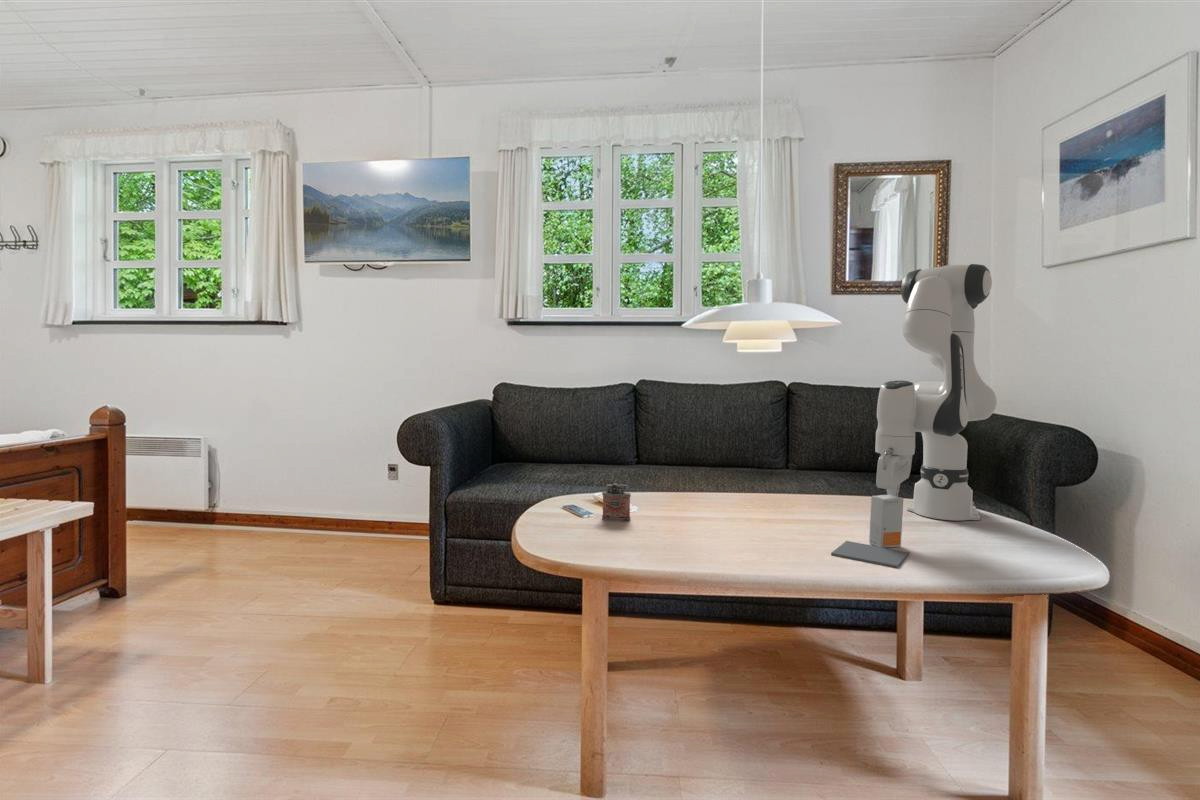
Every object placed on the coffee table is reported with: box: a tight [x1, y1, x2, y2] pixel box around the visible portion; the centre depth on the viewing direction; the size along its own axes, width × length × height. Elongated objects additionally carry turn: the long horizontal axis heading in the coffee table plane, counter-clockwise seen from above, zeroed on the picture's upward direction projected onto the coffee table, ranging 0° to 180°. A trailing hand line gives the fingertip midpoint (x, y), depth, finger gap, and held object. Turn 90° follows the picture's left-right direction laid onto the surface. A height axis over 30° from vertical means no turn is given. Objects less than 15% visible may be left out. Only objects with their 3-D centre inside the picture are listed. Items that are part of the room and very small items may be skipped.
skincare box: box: [868, 494, 904, 548], centre depth 148 cm, size 6×4×12 cm
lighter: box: [601, 483, 632, 522], centre depth 170 cm, size 8×3×10 cm, turn 73°
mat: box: [830, 540, 910, 569], centre depth 141 cm, size 12×14×1 cm
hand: (892, 501), depth 152 cm, fingers closed
